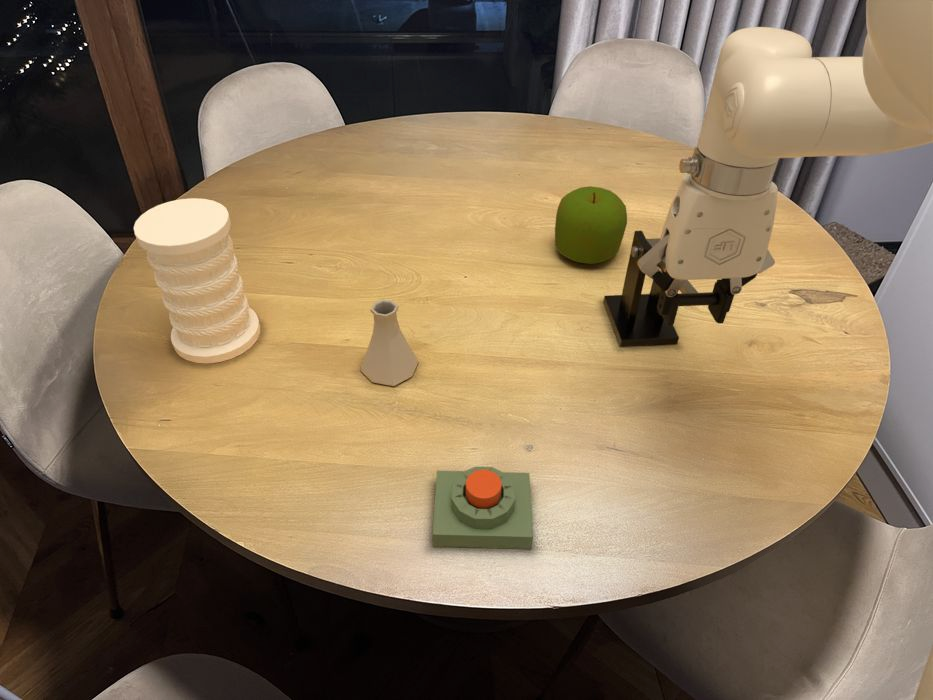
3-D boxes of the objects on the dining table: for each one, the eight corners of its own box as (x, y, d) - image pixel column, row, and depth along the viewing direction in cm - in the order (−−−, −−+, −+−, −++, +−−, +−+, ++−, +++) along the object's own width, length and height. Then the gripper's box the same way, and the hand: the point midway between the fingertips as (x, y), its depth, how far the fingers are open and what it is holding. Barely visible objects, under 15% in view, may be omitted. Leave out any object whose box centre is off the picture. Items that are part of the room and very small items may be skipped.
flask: (428, 361, 89) (426, 301, 83) (395, 394, 85) (390, 333, 78) (384, 342, 92) (379, 282, 85) (350, 373, 87) (341, 312, 81)
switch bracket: (677, 344, 92) (701, 260, 83) (619, 346, 92) (638, 262, 83) (656, 299, 100) (676, 217, 91) (603, 301, 99) (618, 219, 90)
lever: (717, 310, 76) (721, 291, 75) (673, 312, 76) (677, 293, 74) (669, 254, 90) (672, 237, 89) (632, 256, 89) (634, 238, 88)
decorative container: (220, 374, 87) (182, 257, 75) (154, 347, 91) (108, 231, 79) (277, 323, 95) (251, 210, 83) (214, 300, 99) (180, 188, 87)
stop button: (500, 480, 70) (501, 469, 69) (501, 509, 68) (501, 498, 67) (466, 479, 70) (466, 468, 69) (465, 508, 68) (465, 497, 67)
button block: (527, 485, 74) (530, 461, 72) (531, 549, 68) (534, 526, 66) (437, 482, 75) (436, 459, 72) (432, 546, 69) (431, 524, 66)
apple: (618, 276, 104) (631, 214, 97) (548, 267, 106) (555, 206, 98) (621, 238, 112) (632, 178, 105) (556, 230, 114) (563, 171, 107)
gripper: (657, 189, 62) (625, 341, 74) (836, 184, 63) (776, 334, 75) (636, 154, 68) (609, 300, 80) (799, 150, 69) (749, 295, 81)
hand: (691, 315), depth 77 cm, fingers closed on lever, 5 cm apart
